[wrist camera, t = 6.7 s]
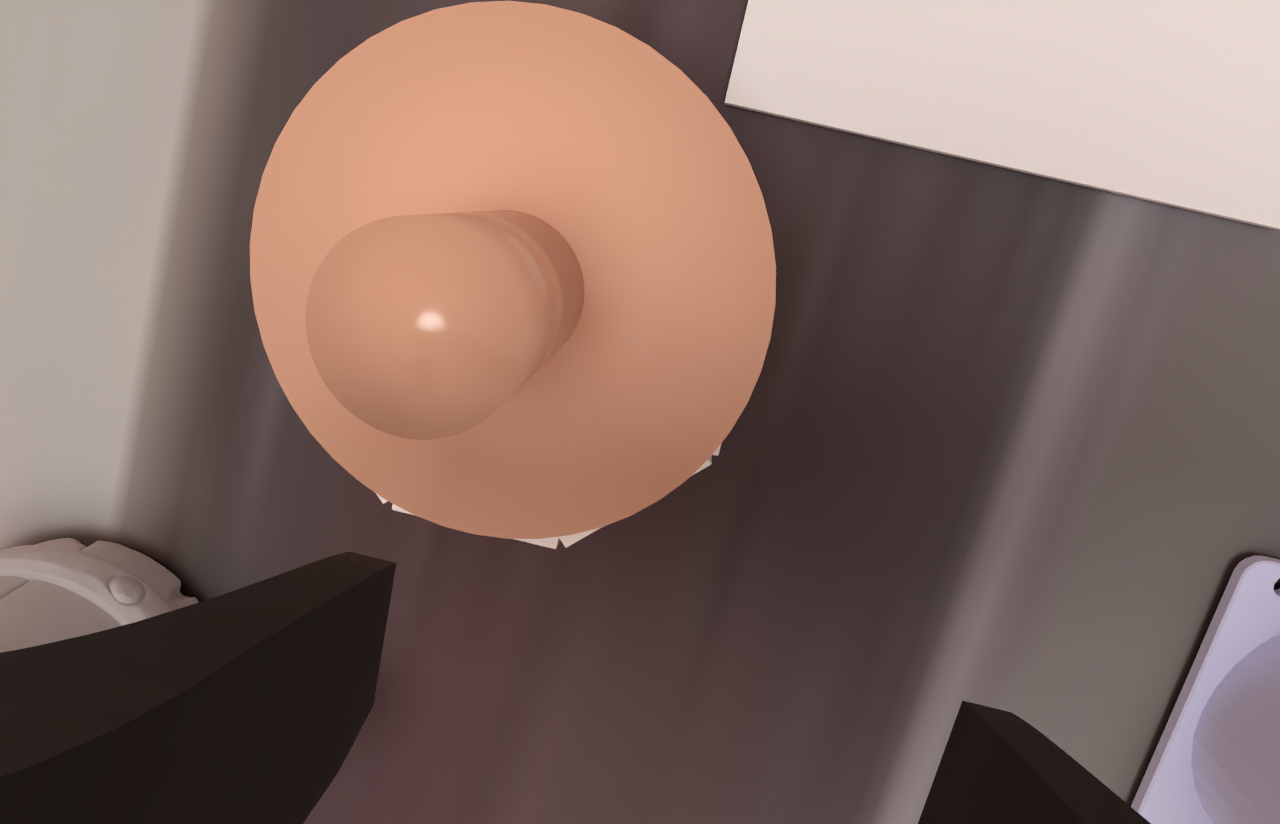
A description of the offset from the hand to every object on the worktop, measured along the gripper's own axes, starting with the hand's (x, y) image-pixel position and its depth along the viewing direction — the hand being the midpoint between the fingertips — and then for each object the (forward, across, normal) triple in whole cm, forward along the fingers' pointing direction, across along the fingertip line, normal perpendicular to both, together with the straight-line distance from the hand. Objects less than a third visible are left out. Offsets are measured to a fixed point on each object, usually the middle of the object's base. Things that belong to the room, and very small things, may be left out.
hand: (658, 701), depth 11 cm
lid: (+7, +4, -4) cm, 9 cm away
